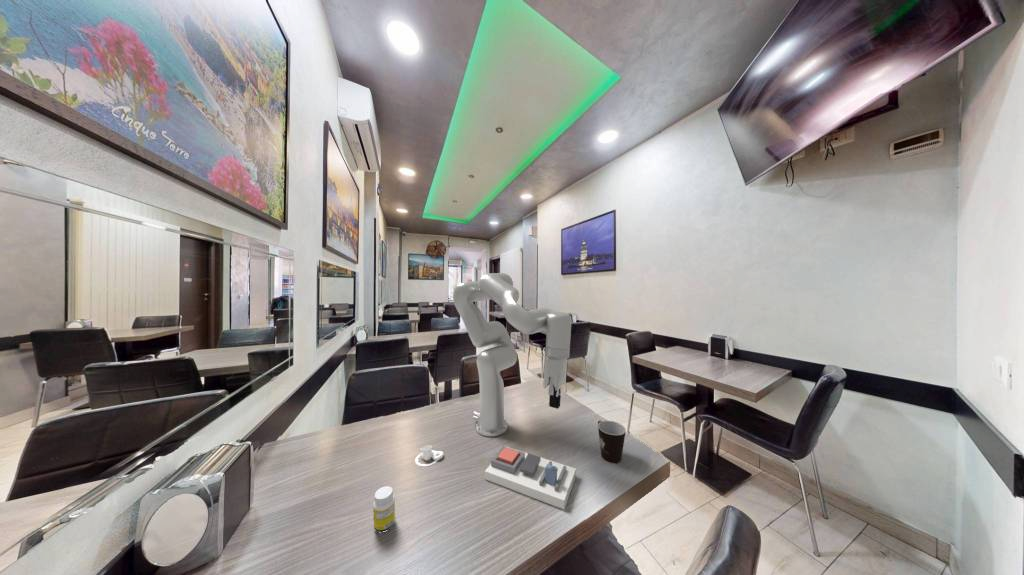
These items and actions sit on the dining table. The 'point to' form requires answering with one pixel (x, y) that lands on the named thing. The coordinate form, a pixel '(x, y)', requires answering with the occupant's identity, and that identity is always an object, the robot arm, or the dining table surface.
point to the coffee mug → (611, 440)
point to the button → (508, 456)
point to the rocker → (530, 464)
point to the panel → (533, 479)
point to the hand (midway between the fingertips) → (554, 406)
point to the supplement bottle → (384, 509)
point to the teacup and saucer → (429, 455)
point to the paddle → (551, 474)
